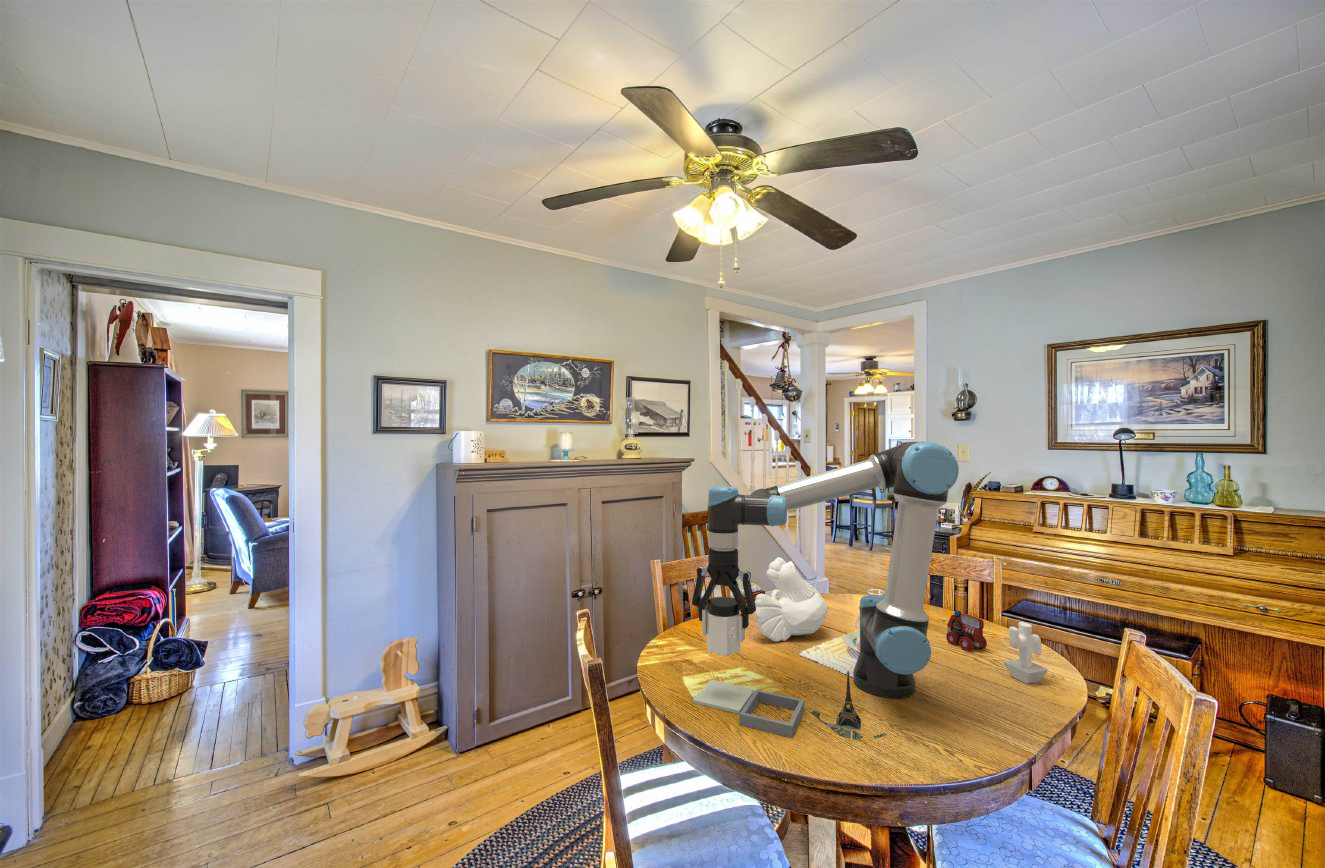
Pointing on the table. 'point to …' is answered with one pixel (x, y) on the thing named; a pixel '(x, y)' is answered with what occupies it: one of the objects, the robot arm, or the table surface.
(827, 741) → the table surface
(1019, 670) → the figurine
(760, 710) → the table surface
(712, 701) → the coaster
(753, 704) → the pocket
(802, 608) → the decorative rooster
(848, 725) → the eiffel tower figurine
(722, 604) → the jar
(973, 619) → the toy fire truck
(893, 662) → the robot arm
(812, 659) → the table surface
